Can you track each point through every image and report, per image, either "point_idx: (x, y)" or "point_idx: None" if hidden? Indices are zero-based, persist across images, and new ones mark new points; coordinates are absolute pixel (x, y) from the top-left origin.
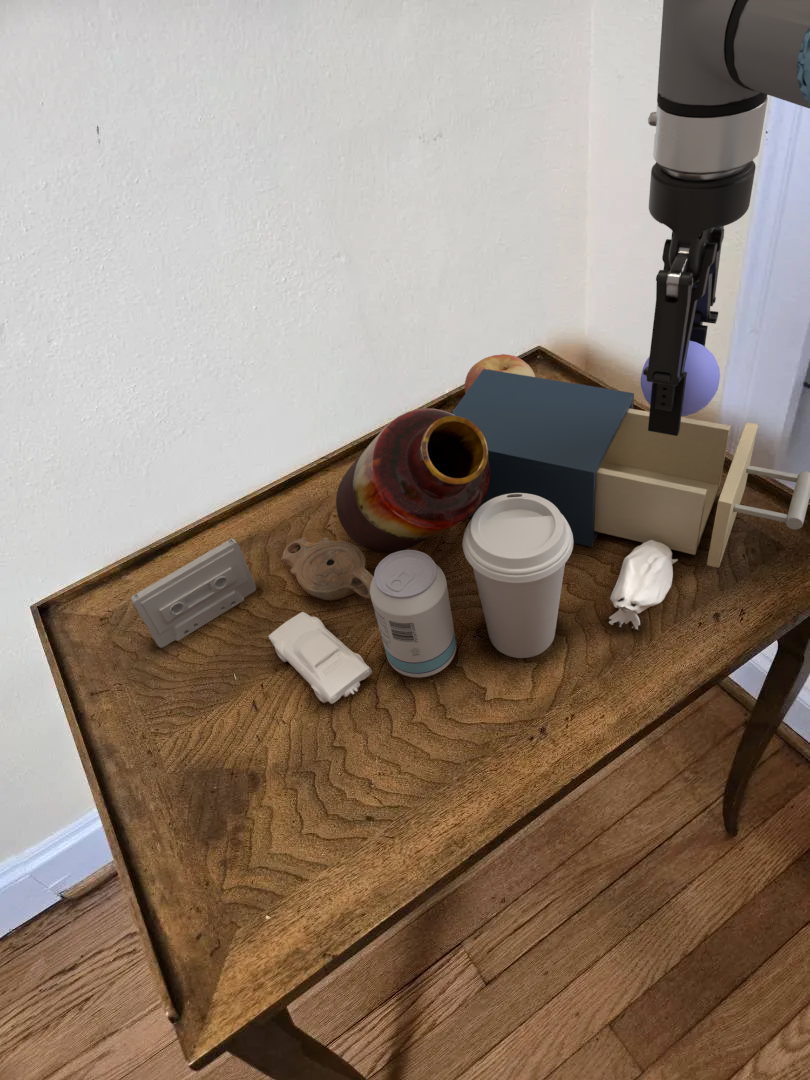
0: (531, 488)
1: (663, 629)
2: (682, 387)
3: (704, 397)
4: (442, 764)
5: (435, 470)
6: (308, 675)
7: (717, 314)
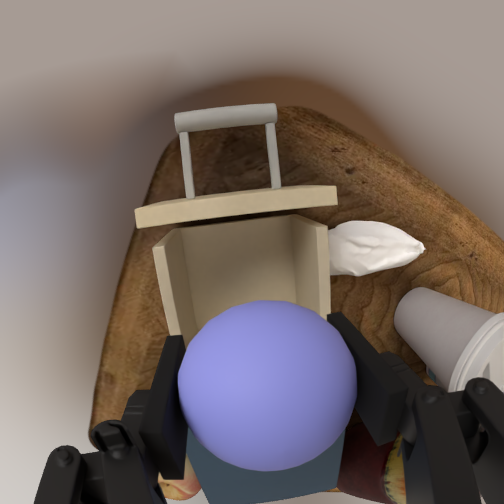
0: None
1: (381, 210)
2: (393, 371)
3: (319, 316)
4: (492, 294)
5: None
6: None
7: (100, 434)
